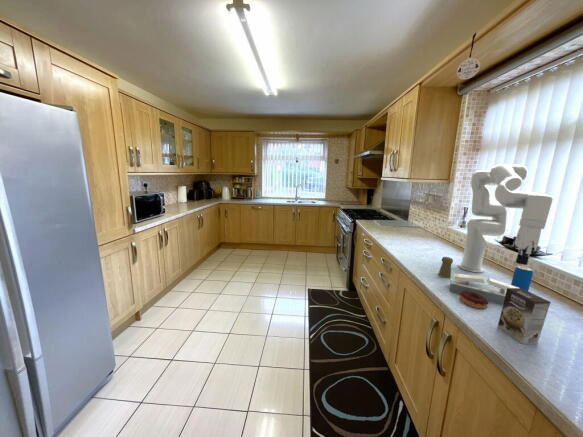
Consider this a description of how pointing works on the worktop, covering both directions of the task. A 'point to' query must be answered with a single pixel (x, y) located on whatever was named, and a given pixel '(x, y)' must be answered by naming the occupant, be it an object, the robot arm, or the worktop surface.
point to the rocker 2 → (500, 284)
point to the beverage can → (522, 277)
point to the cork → (446, 267)
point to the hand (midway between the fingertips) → (521, 263)
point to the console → (478, 290)
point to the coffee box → (523, 315)
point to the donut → (473, 299)
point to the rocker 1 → (469, 278)
